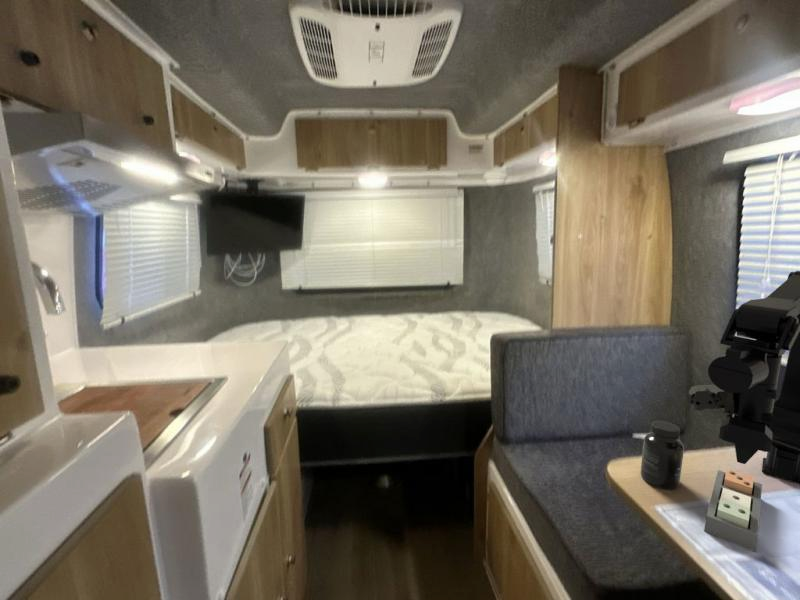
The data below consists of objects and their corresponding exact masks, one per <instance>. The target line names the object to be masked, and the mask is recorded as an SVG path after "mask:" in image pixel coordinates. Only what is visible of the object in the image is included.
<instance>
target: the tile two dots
mask: <svg viewBox="0 0 800 600" xmlns="http://www.w3.org/2000/svg"><path fill="white" fill-rule="evenodd" d="M749 515H750V508H749V507H746V506H743V505H740V504H737V503H734V502H732V501H729V500H726V499H723V498H720V502H719V506H718V511H717V518H720V519H723V520H725V521H728V522H731V523H733V524H736V525H738V526H741V527H744V528H746V529H748V523H749Z"/></svg>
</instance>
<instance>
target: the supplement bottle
mask: <svg viewBox="0 0 800 600" xmlns="http://www.w3.org/2000/svg"><path fill="white" fill-rule="evenodd" d="M650 425H651V426H650V429H649V431H650V432H649V433H647V434H646V435H645V436H644V439H643V446H642V454H641V463H640V464H641V465H640V476H641V477H642V479H643V480H644V481H645V482H646V483H648V484H650V485H651V486H653V487H656V488H659V489H664V490H673V489H677V488H678V487H679V486H680V483H681V476H682V475H681V474H682V468H683V459H684V453H685V447H684V443H682V441H681V440H680V437H681V435H680V434H681V429H680V427H679V426H678V425H677V424H674V423H671V422H669V421H664V420H654V421H652V422H651V424H650Z"/></svg>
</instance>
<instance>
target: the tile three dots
mask: <svg viewBox="0 0 800 600" xmlns="http://www.w3.org/2000/svg"><path fill="white" fill-rule="evenodd" d="M725 473H726V475H725V480H724V486H726V487H729V488H732V489H735V490H738V491H741V492H744V493H747V494H749V495H752V489H753V481H754V479H755V477H753V476H749V475H746V474H743V473H740V472H737V471H733V470H731V469H728V468H727V469H726V470H725Z"/></svg>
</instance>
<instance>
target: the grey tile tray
mask: <svg viewBox="0 0 800 600" xmlns="http://www.w3.org/2000/svg"><path fill="white" fill-rule="evenodd" d="M725 475H726V471H725V472H724V471H723V470H722V471H721V470H717V474H716V477H715V480H714V484H713V489H712V492H711V496H710V500H709V504H708V508H707V512H706V515H705V516H706V517H705V523H704V532H706V533H708V534H711V535H713V536H716V537H718V538H721V539H722V540H725V541H727V542H731V543H732V544H735V545H738V546H741V547H742V548H744V549H745V548H746V549H747V550H749V551H753V552H756V548H757V545H758V544H757V543H758V539H759V537H758V536H759V527H760V525H759V524H760V514H761V502H762V490H763V484H762V483H759V482H757V481H754V480H753V489H752V495H749V494H747V493H744V492H741V491H738V490H735V489H732V488H729V487H726V486H724V480H725ZM723 488H726V489H729V490H732V491H734V492H737V493H740V494H743V495H746V496H749V497H751V504H750V515H749V523H748V529H746V528H744V527H741V526H738V525H736V524H733V523H731V522H728V521H725V520H723V519H720V518H717V511H718V506H719V502H720V498H721V494H722V490H723Z"/></svg>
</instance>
